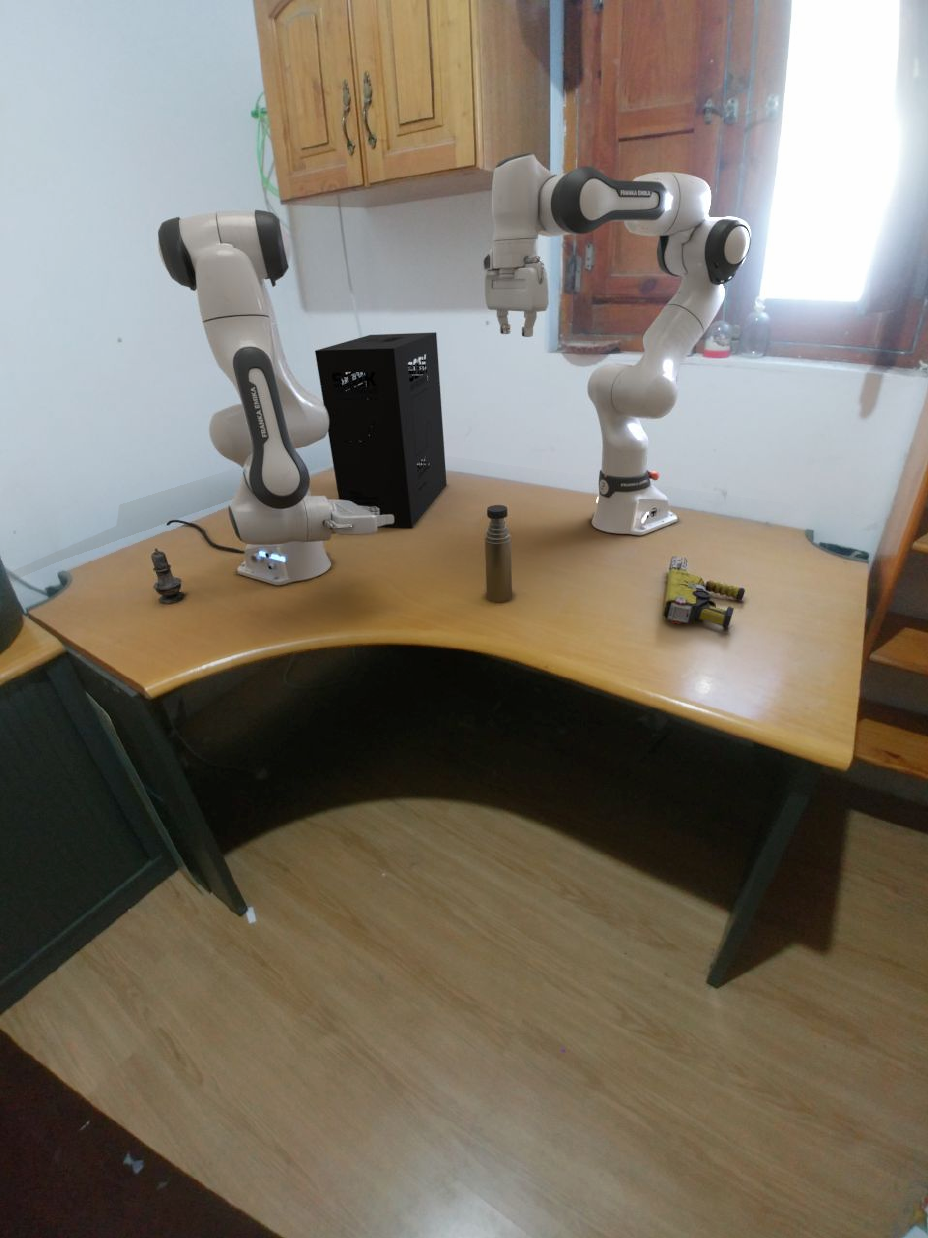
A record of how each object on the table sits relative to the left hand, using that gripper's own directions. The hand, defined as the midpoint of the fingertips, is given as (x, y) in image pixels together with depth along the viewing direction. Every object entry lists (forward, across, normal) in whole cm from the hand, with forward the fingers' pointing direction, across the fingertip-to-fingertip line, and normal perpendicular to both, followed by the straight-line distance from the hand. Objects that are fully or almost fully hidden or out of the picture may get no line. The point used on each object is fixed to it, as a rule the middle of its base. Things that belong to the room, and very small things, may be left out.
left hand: (385, 514), depth 124 cm
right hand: (+30, +1, -35) cm, 46 cm away
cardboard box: (+22, +56, +7) cm, 60 cm away
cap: (+18, -15, -2) cm, 23 cm away
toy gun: (+55, -35, +15) cm, 67 cm away
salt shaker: (-42, +25, +20) cm, 53 cm away
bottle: (+21, -12, +17) cm, 29 cm away
